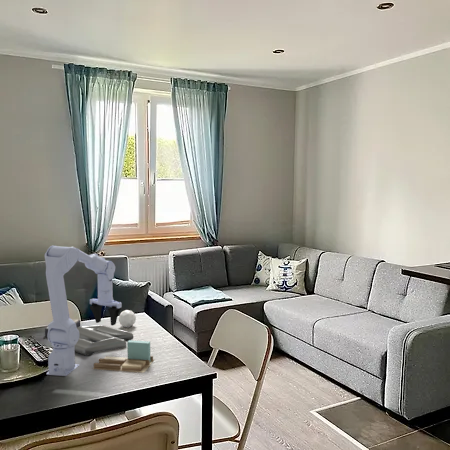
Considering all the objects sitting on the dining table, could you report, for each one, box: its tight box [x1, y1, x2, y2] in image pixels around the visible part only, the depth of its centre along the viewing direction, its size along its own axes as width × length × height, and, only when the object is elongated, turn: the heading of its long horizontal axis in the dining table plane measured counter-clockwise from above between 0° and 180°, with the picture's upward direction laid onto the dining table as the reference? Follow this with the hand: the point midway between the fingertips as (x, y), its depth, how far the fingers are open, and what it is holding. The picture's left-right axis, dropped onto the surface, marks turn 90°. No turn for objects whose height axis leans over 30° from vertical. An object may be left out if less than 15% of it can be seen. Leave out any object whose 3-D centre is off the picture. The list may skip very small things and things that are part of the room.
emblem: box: [74, 324, 134, 356], centre depth 192 cm, size 28×5×28 cm
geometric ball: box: [118, 309, 137, 328], centre depth 215 cm, size 8×8×8 cm
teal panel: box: [126, 339, 151, 360], centre depth 171 cm, size 2×8×8 cm, turn 81°
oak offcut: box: [122, 360, 146, 369], centre depth 165 cm, size 5×7×1 cm
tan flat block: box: [122, 364, 146, 371], centre depth 165 cm, size 5×7×1 cm
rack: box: [92, 355, 155, 374], centre depth 169 cm, size 12×19×2 cm, turn 81°
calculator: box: [44, 319, 81, 338], centre depth 209 cm, size 11×4×15 cm
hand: (105, 323), depth 187 cm, fingers open, 7 cm apart
